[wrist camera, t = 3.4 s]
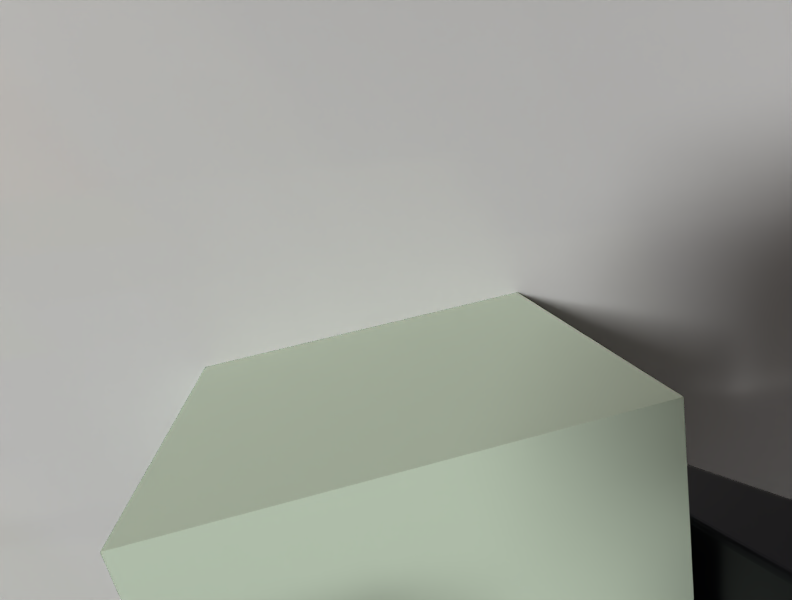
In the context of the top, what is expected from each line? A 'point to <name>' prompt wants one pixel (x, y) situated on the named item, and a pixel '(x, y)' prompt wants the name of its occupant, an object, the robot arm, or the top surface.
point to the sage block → (418, 471)
